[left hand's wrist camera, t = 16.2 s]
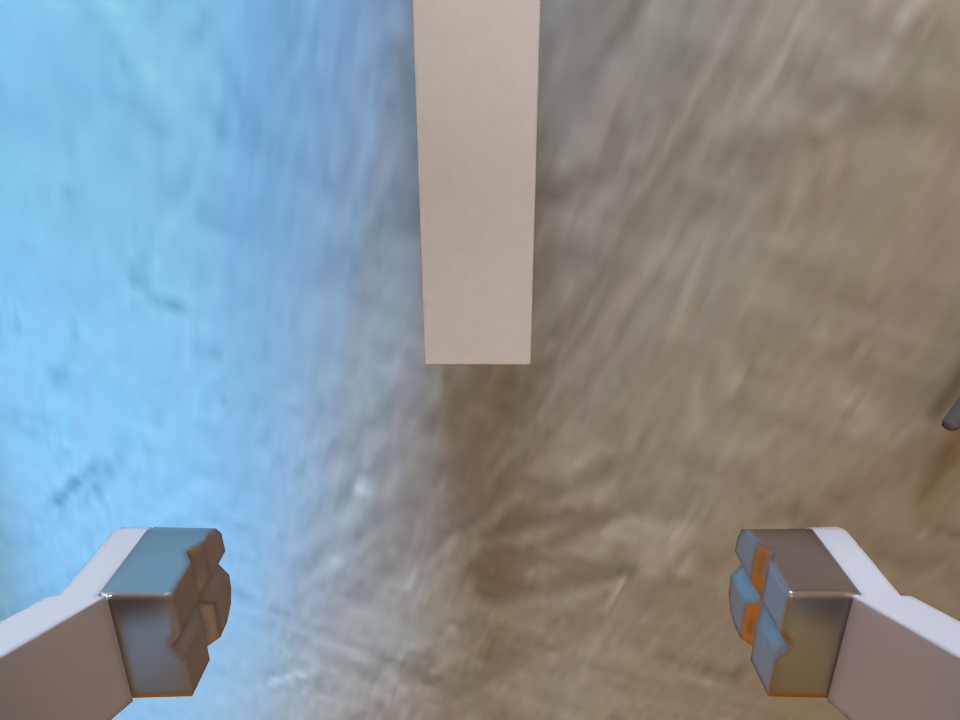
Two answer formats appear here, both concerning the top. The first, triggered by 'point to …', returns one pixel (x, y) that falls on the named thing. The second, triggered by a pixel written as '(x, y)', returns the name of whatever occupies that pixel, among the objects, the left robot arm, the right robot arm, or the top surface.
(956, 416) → the walkie-talkie
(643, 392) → the top surface
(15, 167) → the top surface
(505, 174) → the bar
